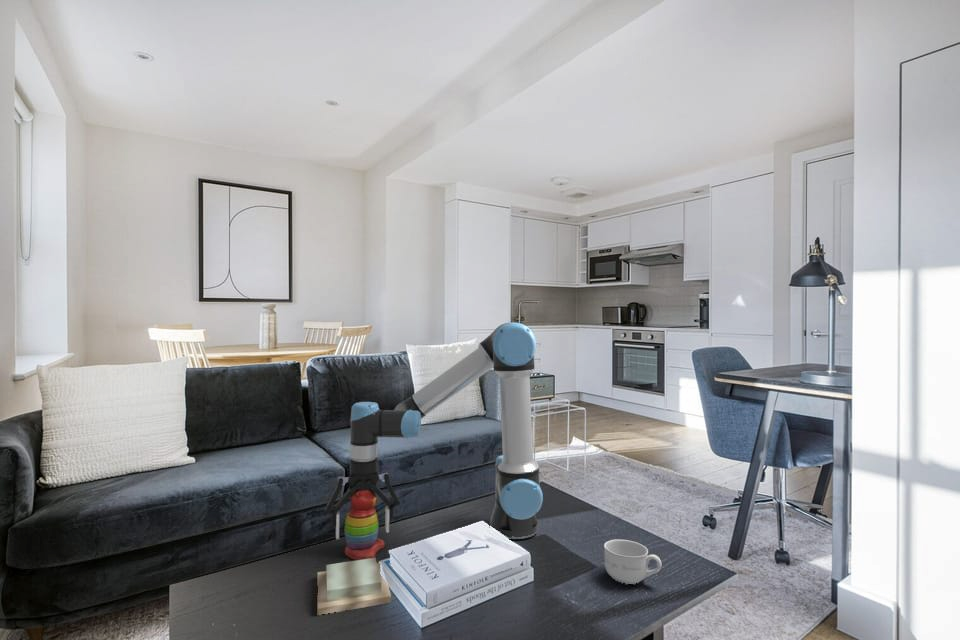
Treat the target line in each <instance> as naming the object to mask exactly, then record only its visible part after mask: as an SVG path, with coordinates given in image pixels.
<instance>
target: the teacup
mask: <svg viewBox="0 0 960 640" xmlns="http://www.w3.org/2000/svg"><path fill="white" fill-rule="evenodd" d="M603 547H604V567H605V571H606V573H607V574H608V575H609V576H610V577H611V578H612V579H613V580H614V579H615V580H614V581H615V582H617V581H618V582H617V583H620V582H621V583H620V584H623V583H625V584H624V585H628V584H633V585H637V584H639V583H640V582H642V581H643V580H644V579H646V578H649V577H650V576H651V575H654V574H657V573H658V572H659V571H661V569H662V566H663V564H662V560H661V559H660V557H659V556H658V555H656V554H649V549H648V548H647V547H646V546H645V545H644V544H641V543H639V542H636V541H634V540H627V539H618V538H617V539H610V540H608V541H606V542H604V544H603ZM648 554H649V555H648ZM650 560H654V561H655V562H656V564H657V566H656V567H655V568H652V569H649V568H648V566H649V564H650ZM636 583H637V584H636Z"/></svg>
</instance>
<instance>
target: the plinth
mask: <svg viewBox="0 0 960 640" xmlns="http://www.w3.org/2000/svg"><path fill="white" fill-rule="evenodd" d="M379 563H380V562H377V558H376V557H375V558H370V559H363V560H351V561H343V562H337V563H332V564H331V563H330V564H326V565H325V570H324V571H317V586H318V593H317V594H318V595H317V596H316V597H317V601H316V602H317V615H316V616H317V617H318V615H319V616H323V615H322V614H325V615H329V614H328V613H330V614H335V613H334V612H336V613H341V612H346V610H347V611H351V610H357V609H358V610H359V609H362V608H367V607H368V608H369V607H374V606H380V605H385V604H390V603H392V594H391V590H390V587H389V582H388V581H387V582H388V583H387V582H386V581H385V580H384V579H383V578H382V576H381V574H380V565H379Z"/></svg>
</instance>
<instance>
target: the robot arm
mask: <svg viewBox="0 0 960 640" xmlns="http://www.w3.org/2000/svg"><path fill="white" fill-rule="evenodd" d="M536 349H537V341H536V337H535V335H534V332H533V331H532V330H531V329H530V328H529V327H528V326H526V325H525V324H523V323H520V322H514V321H513V322H505V323H503V324H500V325H499V326H497V327H496V328H495V329H494V330H493V331H492V332H491V333H490V334H489V335H488V336H487V337H486V338H484V340H482V341H480V342H479V343H478V347H477V349H474V351H472V352H471V353H469V354H467V356H465V357H464V358H462V359H461V360H459V361H458V362H457V363H455V364H454V365H453V366H451V367H450V368H449V369H447V370H446V371H444V372H443V373H441V374H440V375H439V376H437V377H435V378H434V379H432V380H431V381H430V382H429V383H427V384H426V385H425V386H423V387H422V388H420V389H418V390H417V391H416V392H415V393H413V394H412V395H411V396H410V397H407V399H405V400H402V401H401V402H399V403H398V404H397V405H396V406H395V408H394V409H393V410H392V409H389V410H388V409H386V410H385V409H380V407H379V404H378V403H377V402H374V401H373V402H372V401H359V402H355V403H353V405H352V406H351V411H350V412H351V413H350V420H349V421H350V448H349V449H350V450H349V457H350V460H349V476H348V477H346V476H345V477H344V476H342V475H339V476H338V477H337V483H336V486H335V488H334V490H333V492H332V493H331V495H330V498H329V500H328V502H327V503H326V505H325V508H324V510H325V514H330V515H331V526H332V527H335V539H336V540H340V510H341V509H342V507H344V506H345V504H346V503H347V502H348V500H349V499H350V497H351V495H353V494H354V493H355V491H356V492H358V491H361V490H369V491H370V490H372V491H373V492H374V494H375V495H376V494H377V495H376V496H377V497H379V498H380V499H381V500H382V502H383V503H384V504H385V513H384V515H385V516H384V520H385V521H384V522H385V523H384V529H385V533H387V534H388V533H390V520H393V518H394V508H395V507H396V506H398V507H399V506H400V501H399V498H398V496H397V494H396V492H395V490H394V488H393V487H392V484H391V482H390V477H389V476H390V475H389V474H388V472H387V471H384V472H383V473H380V474H378V451H379V449H378V446H379V438H404V439H410V438H418V437H419V436H420V434H421V429H422V427H421V426H422V419H423V418H424V417H425V416H427V415H428V414H430V413H431V412H433V411H434V410H436V409H437V408H438V407H440V406H441V405H443V404H444V403H445V402H447V401H448V400H449V399H451V398H452V397H454V396H455V395H457V394H458V393H459V392H461V391H462V390H463V389H465V388H467V386H469V385H471V384H472V383H473V382H474V381H476V380H477V379H479V378H480V377H482V376H483V375H484V374H486V373H487V372H489V371H490V370H492V369H493V372H494V373H495V374H496V375H497V376H498V378H499V379H498V380H499V395H500V397H499V399H500V400H499V401H500V422H501V442H502V443H501V447H502V455H499V456H497V457H496V459H495V465H494V468H495V492H494V493H495V494H494V495H495V499H494V500H495V502H494V507H493V510H492V512H491V516H490V519H489V526H490V525H491V526H492V527H493V528H495V529H496V530H498V531H500V532H501V533H502V534H504V535H506V536H508V537H512V536H514V537H522V536H528V535H531V534H533V533H535V532H536V531H537V529H538V530H539V522H538V519H537V516H536V514H537V513H538V512H539V511H540V509H541V508H542V505H543V502H544V501H543V500H544V495H543V491H542V488H541V486H540V485H541V483H540V467H539V465H540V464H538V463H537V462H536V461H535V459H534V450H533V449H534V448H533V428H532V427H533V425H532V422H533V421H532V404H531V403H532V402H531V384H530V383H531V379H530V378H531V374H533V372H534V371H535V354H536ZM379 480H381V482H382V483H384V484H385V486H386V488H387V490H388V492H389V494H390V496H391V499H392V500H391V499H390V498H389V497H388V496H387V495H386V494H385V493H384V492H383V490H381V489H380V487H379V486H378V485H377V483H378V481H379ZM346 483H348V484H349V487H348V488H347V490H346V491H345V493H344V494H343V495H342V496H341V497H340V498H339V500H338V501H337V502H336V500H337V499H338V496H339V495H340V493H341V491H342V488H343V486H345V485H346ZM335 502H336V504H335Z"/></svg>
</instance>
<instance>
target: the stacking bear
mask: <svg viewBox="0 0 960 640" xmlns="http://www.w3.org/2000/svg"><path fill="white" fill-rule="evenodd" d="M349 499H350V506H351V508H350V510H349V512H348V513H347V514H346V517H345V518H346V519H345V523H344V531H343V532H344V539H345V542H346V546H345V549H344V554H345V556H347V557H348V558H349V559H352V560H353V561H356V560H363V559H370V558H376V553H377V552H378V551H380V549H381V550H383V549H384V548H385V545H386V543H385V541H384V540H383V539H381V538H378V535H379V527H380V524H379V519H378V513H377V512H376V511H377V510H376V508H375V505H376V504H377V502H378V496H377V495H376V493H375V492H374V491H373V490H370V491H369V490H361V491H358V492H356V491H355V493H354V494H353V495H351V497H350V498H349ZM382 548H383V549H382Z"/></svg>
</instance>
